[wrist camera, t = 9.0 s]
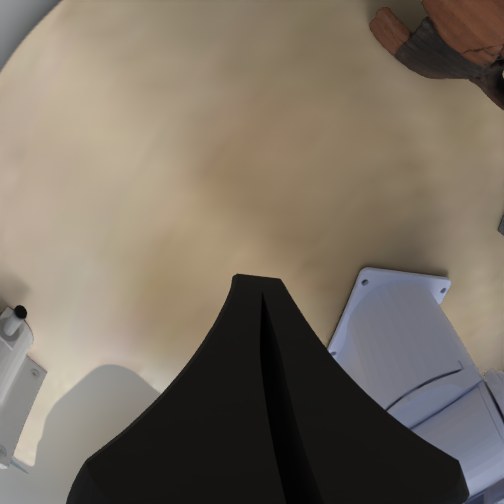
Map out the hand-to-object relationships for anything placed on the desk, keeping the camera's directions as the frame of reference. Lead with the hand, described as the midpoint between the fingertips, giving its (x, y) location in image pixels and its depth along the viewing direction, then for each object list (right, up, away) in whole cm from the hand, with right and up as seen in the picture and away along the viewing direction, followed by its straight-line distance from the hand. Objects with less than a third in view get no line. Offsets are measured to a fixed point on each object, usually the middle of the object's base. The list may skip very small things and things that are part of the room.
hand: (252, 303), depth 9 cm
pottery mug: (+11, +15, +3) cm, 19 cm away
